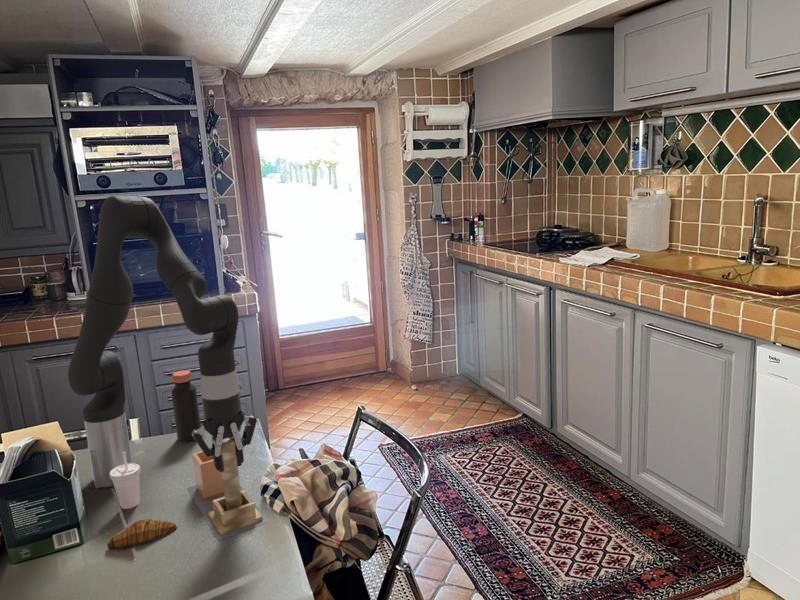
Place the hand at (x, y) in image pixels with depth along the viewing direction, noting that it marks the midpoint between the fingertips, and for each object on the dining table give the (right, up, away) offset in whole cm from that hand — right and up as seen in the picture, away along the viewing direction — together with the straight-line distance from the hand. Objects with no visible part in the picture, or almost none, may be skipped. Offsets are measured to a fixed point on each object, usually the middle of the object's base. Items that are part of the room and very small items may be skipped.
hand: (229, 467), depth 124 cm
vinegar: (-26, -5, +47) cm, 54 cm away
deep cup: (-8, -10, +15) cm, 19 cm away
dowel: (+1, -10, +2) cm, 10 cm away
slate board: (-3, -12, +8) cm, 15 cm away
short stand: (+1, -12, +2) cm, 12 cm away
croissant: (-17, -15, -2) cm, 23 cm away
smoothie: (-26, -13, +10) cm, 31 cm away
